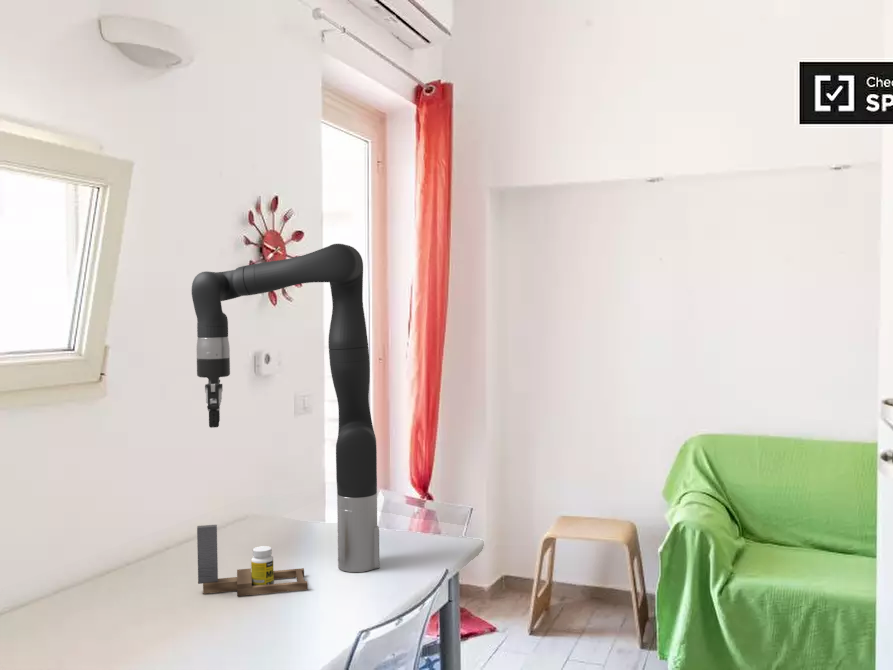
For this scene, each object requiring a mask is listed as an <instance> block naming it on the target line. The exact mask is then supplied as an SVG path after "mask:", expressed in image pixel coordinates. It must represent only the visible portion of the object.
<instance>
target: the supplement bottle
mask: <svg viewBox="0 0 893 670" xmlns="http://www.w3.org/2000/svg"><path fill="white" fill-rule="evenodd" d="M272 554H273V551H272V547H271V546H269V545H267V546H266V545H261V546H256V547H253V548H252V556H253V557H252V558H251V561H250V563H251V564H250V567H251V578H252V586H256V585H267V584H275V582H274V581H275V579H274V572H273V571H274V556H273V555H272Z"/></svg>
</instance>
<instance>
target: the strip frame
mask: <svg viewBox="0 0 893 670" xmlns="http://www.w3.org/2000/svg"><path fill="white" fill-rule="evenodd" d="M196 534H197V537H196V540H197V542H196V544H197V546H196V547H197V583H198V585H199V584H200V585H201V584H202V594H203V595H204V594H205V595H207V594H215V593H225V592H236V596H237V597H246V596H254V595H255V596H256V595H263V594H264V595H265V594H275V593H276V594H277V593H285V592H297V591H306V590H308V589H309V588H308V585H309V584H308V580H305V579H304V577H305V569H304V567H303V568H302V567H301V568H292V569H280V570H279V569H278V570H273V572H274V580H280V579H291V578H292V579H293V578H295V579H296V581H290V582H279V583H274V584H267V585H256V586H252V578H251V568H240V569H239V568H238V569H236V576H232V577H222V578H221V577H219V573H218V572H219V571H218V570H219V567H218V566H219V565H218V558H219V557H218V524H209V525H208V524H205V525H197V527H196Z"/></svg>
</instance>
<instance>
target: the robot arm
mask: <svg viewBox="0 0 893 670" xmlns="http://www.w3.org/2000/svg"><path fill="white" fill-rule="evenodd" d="M309 283H310V284H311V283H329V287H330V294H331V301H332V311H331V319H330V324H329V332H328V354H329V356H328V357H329V367H330V373H331V379H332V384H333V387H334V392H335V395H336V399H337V407H338V431H337V432H338V433H337V440H336V444H335V445H336V446H335V466H336V467H335V468H336V469H335V470H336V471H335V473H336V493H337V495H336V497H337V499H336V501H337V502H336V503H337V505H336V506H337V511H336V512H337V513H336V514H337V566H338V569H339V570H340V571H343V572H347V573H349V572H350V573H363V572H369V571H372V570H374V569H379V568H380V527H379V525H378V473H377V469H378V468H377V466H378V465H377V464H378V459H377V454H378V453H377V451H378V450H377V438H376V435H375V431H374V426H373V421H372V414H371V408H370V380H371V379H370V378H371V376H370V375H371V368H370V367H371V366H370V364H371V363H370V353H369V352H370V350H369V340H368V333H367V324H366V317H365V310H364V309H365V308H364V302H363V301H364V299H363V298H364V297H363V292H364V291H363V290H364V285H363V284H364V261H363V258H362V255H361V254H360V252H359V251H358V250H357V249H356V248H355V247H353V246H351V245H348V244H344V243H333V244H330V245H329V246H328V245H327V246H326V247H323V248H320V249H318V250H315V251H311V252H309V253H306V254H303V255H300V256H295V257H291V258H284V259H278V260H271V261H264V262H258V263H257V262H256V263H253V264H247V265H242V266H238V267H237V268H235V269H232V270H226V271H217V272H216V271H201V272H198V274H196V276H194V278H193V281H192V283H191V297H192V298H191V299H192V303H193V307H194V312H195V313H194V314H195V316H196V320H197V322H196V323H197V324H196V330H197V331H196V332H197V334H196V336H197V340H196V376H197V377H199V378H207V380H208V382H207V383H206V384H205V385H204V392H205V403H206V404H207V406H206V408H207V412H208V425H209V426H208V427H209V428H211V429H212V428H214V429H215V428H218V427H220V421H221V419H220V418H221V417H220V416H221V415H220V414H221V412H220V410H221V403H222V399H223V396H222V395H223V394H222V393H223V383H221V379H220V378H225V377H228V376H231V375H230V374H231V362H230V361H231V360H230V358H231V357H230V355H231V354H230V351H231V350H230V341H229V320H228V316H227V314H226V313H225V312H224V311H223V308H222V307H223V306H222V302H224V301H228V300H232V299H236V298H240V297H244V296H254V295H259V294H260V295H261V294H265V293H270V292H274V291H275V292H276V291H279V290H282V289H286V288H289V287H292V286H295V285H296V286H297V285H303V284H309Z"/></svg>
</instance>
